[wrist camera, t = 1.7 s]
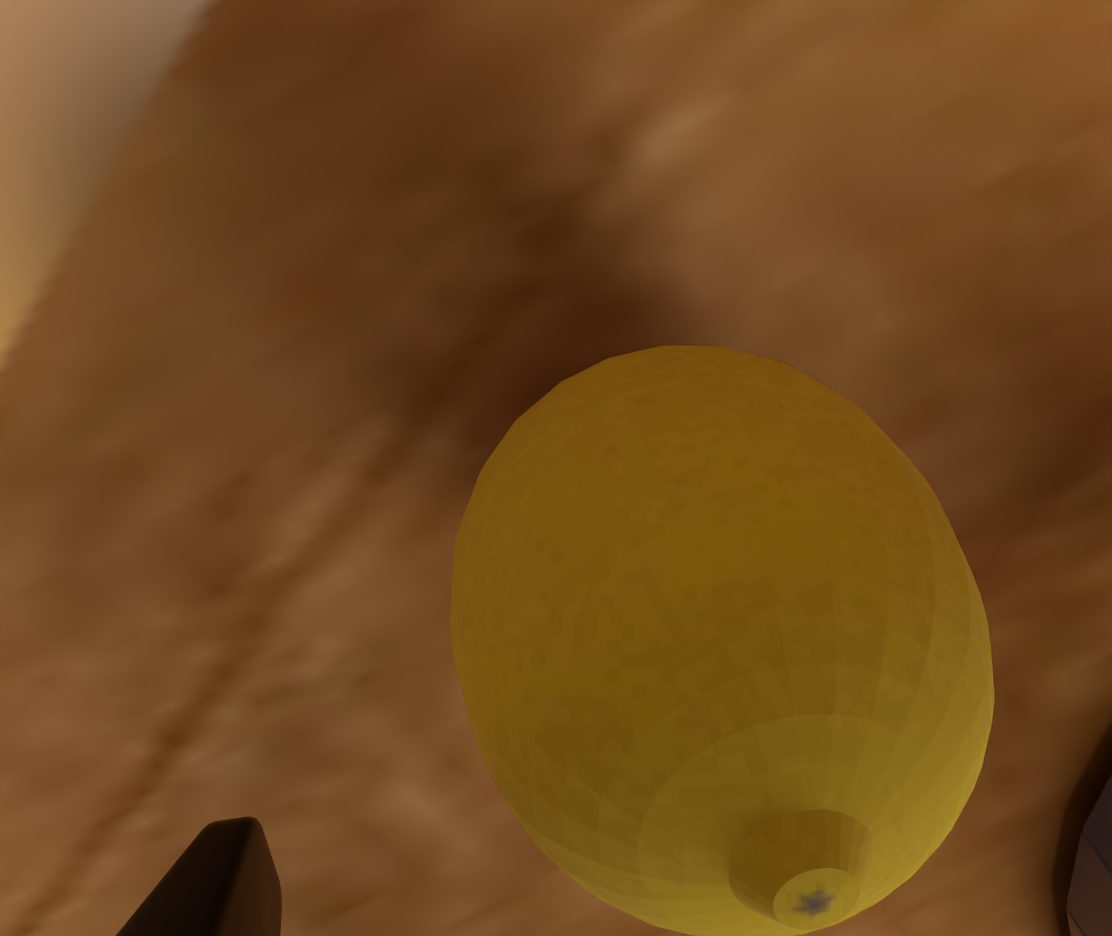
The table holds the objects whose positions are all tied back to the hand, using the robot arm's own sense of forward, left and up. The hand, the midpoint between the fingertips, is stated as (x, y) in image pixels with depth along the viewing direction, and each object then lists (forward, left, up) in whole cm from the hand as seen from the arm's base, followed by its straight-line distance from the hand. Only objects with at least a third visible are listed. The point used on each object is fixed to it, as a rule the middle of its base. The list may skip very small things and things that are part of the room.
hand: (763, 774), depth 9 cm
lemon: (0, 0, -7) cm, 7 cm away
